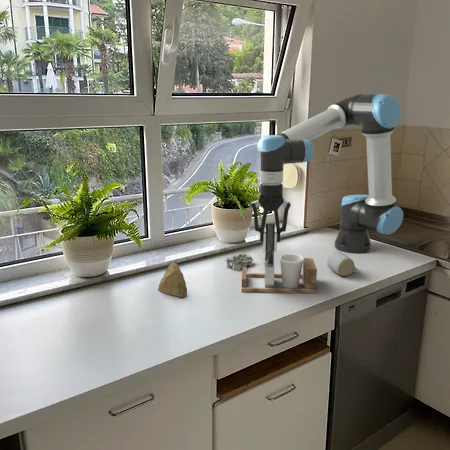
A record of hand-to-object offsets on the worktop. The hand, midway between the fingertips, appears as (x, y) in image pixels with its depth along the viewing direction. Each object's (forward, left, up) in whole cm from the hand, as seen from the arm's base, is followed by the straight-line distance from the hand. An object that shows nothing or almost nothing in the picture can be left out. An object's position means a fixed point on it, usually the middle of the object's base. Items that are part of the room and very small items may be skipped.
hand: (269, 250), depth 159 cm
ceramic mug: (-28, -13, -13) cm, 33 cm away
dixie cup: (-8, 0, -13) cm, 15 cm away
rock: (+32, +9, -13) cm, 36 cm away
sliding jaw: (0, 0, -13) cm, 13 cm away
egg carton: (+11, -18, -13) cm, 25 cm away
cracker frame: (-3, 0, -13) cm, 13 cm away
